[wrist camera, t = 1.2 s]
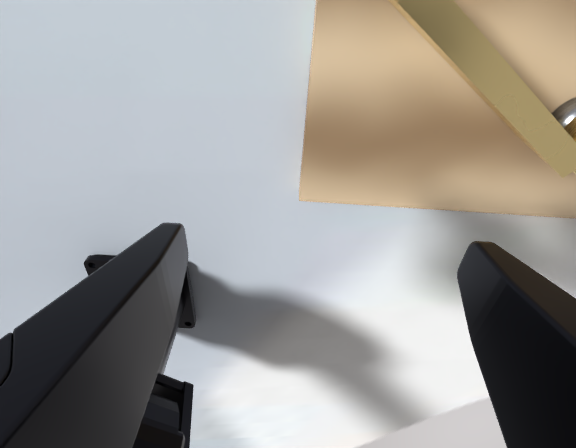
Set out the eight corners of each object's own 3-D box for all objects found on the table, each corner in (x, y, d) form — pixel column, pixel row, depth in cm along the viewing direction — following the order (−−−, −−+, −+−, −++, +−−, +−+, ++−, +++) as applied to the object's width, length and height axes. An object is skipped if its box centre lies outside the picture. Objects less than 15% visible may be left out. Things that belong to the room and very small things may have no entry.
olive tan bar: (626, 122, 16) (701, 165, 13) (552, 173, 18) (604, 221, 15) (452, -110, 12) (504, -126, 9) (375, -13, 13) (397, 2, 10)
